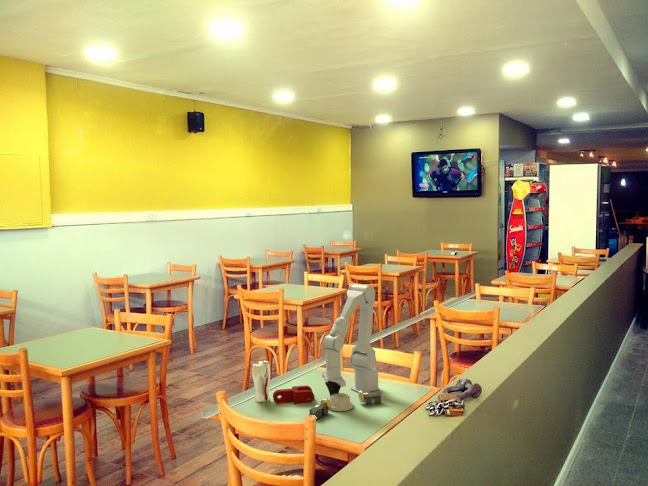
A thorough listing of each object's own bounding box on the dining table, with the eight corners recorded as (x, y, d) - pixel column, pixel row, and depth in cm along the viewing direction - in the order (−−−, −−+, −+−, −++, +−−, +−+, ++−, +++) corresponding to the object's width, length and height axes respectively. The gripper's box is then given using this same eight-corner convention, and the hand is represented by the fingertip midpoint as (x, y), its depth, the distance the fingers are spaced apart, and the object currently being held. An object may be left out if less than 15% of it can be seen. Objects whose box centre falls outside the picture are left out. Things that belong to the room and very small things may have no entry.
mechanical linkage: (312, 397, 236) (311, 385, 236) (314, 403, 229) (314, 390, 229) (272, 400, 234) (272, 388, 233) (273, 406, 226) (273, 394, 226)
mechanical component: (325, 411, 220) (351, 412, 218) (324, 399, 219) (351, 401, 218) (329, 401, 230) (354, 402, 228) (329, 390, 229) (354, 391, 227)
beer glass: (274, 398, 235) (273, 361, 234) (265, 403, 229) (264, 366, 228) (259, 395, 238) (258, 359, 237) (250, 401, 232) (248, 364, 231)
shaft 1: (322, 411, 220) (322, 397, 220) (331, 413, 217) (331, 400, 217) (308, 417, 214) (308, 403, 213) (317, 420, 211) (317, 406, 211)
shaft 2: (361, 406, 224) (361, 392, 224) (358, 402, 228) (358, 389, 228) (381, 404, 226) (381, 391, 225) (378, 400, 230) (378, 387, 229)
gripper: (315, 362, 231) (316, 396, 233) (334, 372, 219) (335, 407, 220) (330, 359, 235) (331, 392, 236) (350, 368, 222) (350, 403, 224)
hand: (334, 399), depth 228 cm, fingers closed
